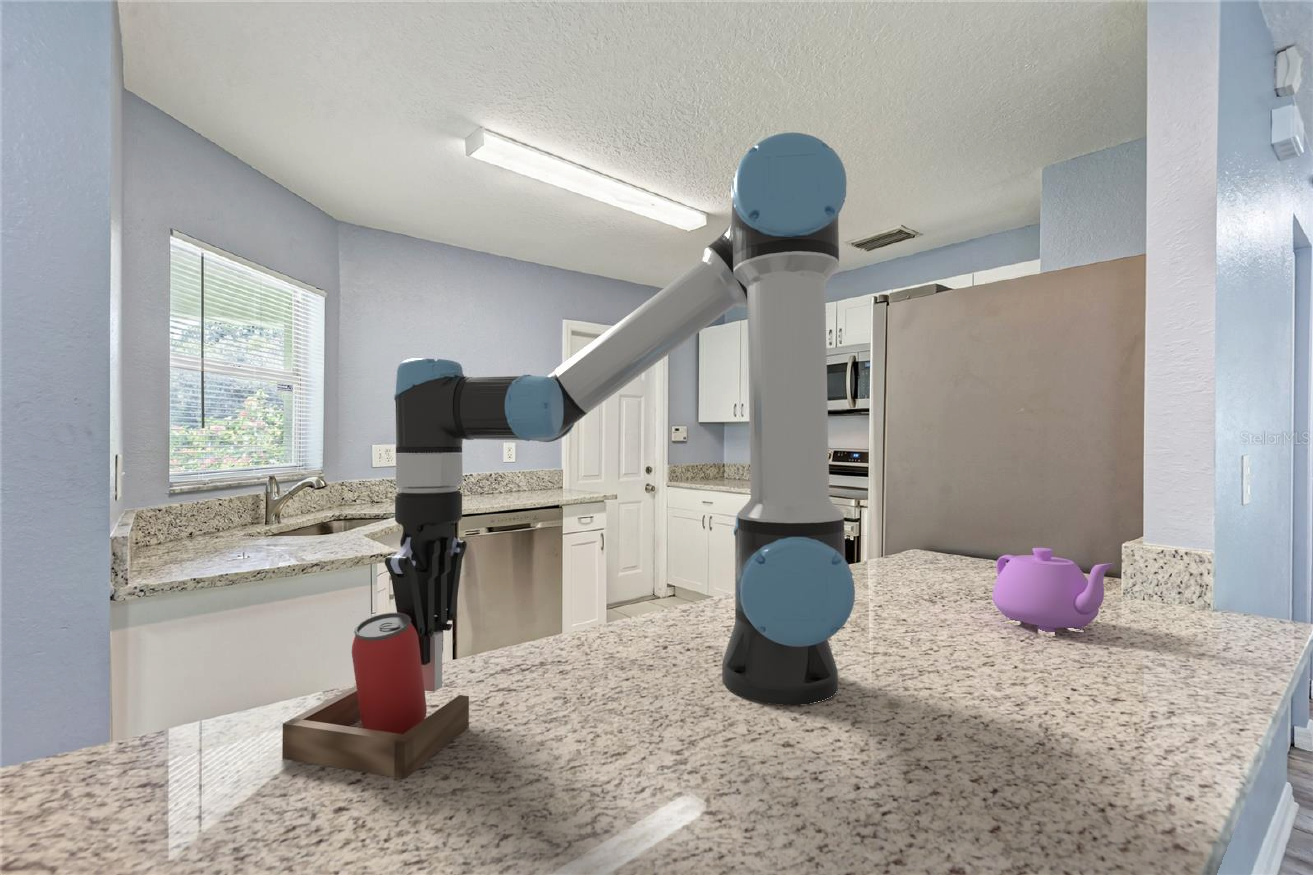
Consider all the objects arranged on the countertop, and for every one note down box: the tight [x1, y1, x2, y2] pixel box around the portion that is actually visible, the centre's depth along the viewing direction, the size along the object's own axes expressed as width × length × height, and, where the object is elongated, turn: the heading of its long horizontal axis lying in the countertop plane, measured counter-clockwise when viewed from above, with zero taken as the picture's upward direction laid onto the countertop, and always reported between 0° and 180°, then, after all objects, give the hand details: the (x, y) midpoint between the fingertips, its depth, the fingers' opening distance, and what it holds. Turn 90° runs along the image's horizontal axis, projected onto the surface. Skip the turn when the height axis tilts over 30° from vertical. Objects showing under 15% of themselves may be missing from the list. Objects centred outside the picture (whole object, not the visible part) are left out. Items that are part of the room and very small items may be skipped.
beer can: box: [351, 611, 428, 734], centre depth 65 cm, size 7×7×12 cm
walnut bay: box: [281, 685, 470, 780], centre depth 64 cm, size 14×11×4 cm
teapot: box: [992, 547, 1116, 633], centre depth 105 cm, size 22×16×14 cm
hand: (428, 688), depth 71 cm, fingers closed
